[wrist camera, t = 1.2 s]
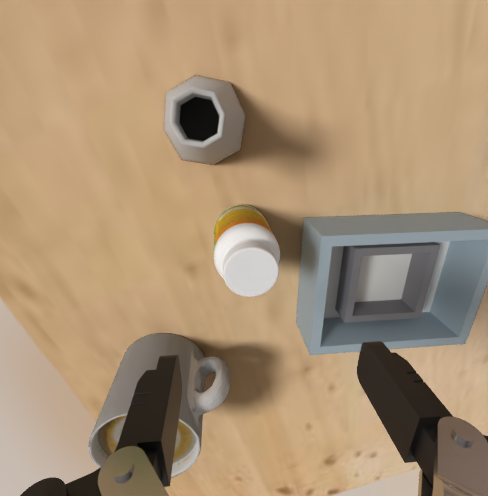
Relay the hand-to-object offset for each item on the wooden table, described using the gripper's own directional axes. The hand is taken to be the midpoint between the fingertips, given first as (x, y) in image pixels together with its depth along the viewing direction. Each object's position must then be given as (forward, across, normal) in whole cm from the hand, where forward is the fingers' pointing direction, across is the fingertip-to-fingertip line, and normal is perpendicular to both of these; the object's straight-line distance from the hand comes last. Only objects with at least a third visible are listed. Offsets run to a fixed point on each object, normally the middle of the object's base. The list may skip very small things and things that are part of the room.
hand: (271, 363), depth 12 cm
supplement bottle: (+18, 0, 0) cm, 18 cm away
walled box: (+18, -15, +6) cm, 24 cm away
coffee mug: (+18, +8, +17) cm, 26 cm away
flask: (+18, +3, -10) cm, 21 cm away
